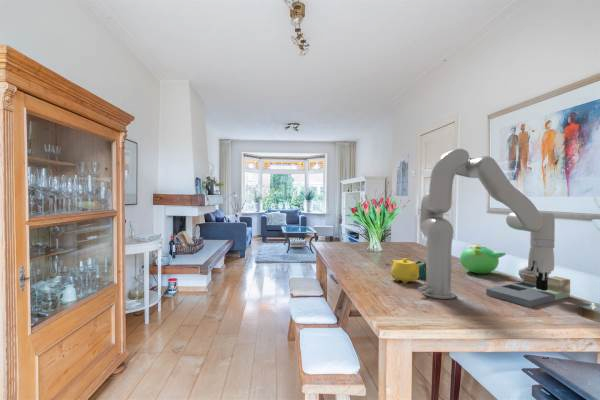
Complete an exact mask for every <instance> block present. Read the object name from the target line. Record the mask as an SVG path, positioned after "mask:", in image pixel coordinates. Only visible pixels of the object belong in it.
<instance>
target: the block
mask: <svg viewBox="0 0 600 400" xmlns="http://www.w3.org/2000/svg"><path fill="white" fill-rule="evenodd" d="M548 290H552V291H555V292H559V293H566V292H570V293H571V278H565V277H562V276H557V275H556V276H548Z"/></svg>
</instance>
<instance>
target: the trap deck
mask: <svg viewBox="0 0 600 400" xmlns="http://www.w3.org/2000/svg"><path fill="white" fill-rule="evenodd" d="M485 290H486V291H485V293H486V294H485V295H486V296H489V297H492V298H496V299H499V300H503V301H506V302H508V303H514V304H517V305H520V306H524V307H527V308H532V307H533V308H534V307H536V306H539V305H543V304H547V303H548V304H549V303H551V302H554V301H559V300H562V299H563V300H564V299H566V298H570V297H571V291H570V292H566V293H559V292H555V291H552V290H546V291H543V290H539V289H536V277H535V276H534V275H528V274H524V280H522V281H519V282H513V283H510V284H509V283H508V284H503V285H499V286H495V287H489V288H486V289H485Z"/></svg>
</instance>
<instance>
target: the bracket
mask: <svg viewBox="0 0 600 400" xmlns="http://www.w3.org/2000/svg"><path fill="white" fill-rule="evenodd" d="M412 262H415V263H416V265H417V264H420V266H419V278H418V279H420V280H426V261H425V262H424V261H421V260H414V261H412Z"/></svg>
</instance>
